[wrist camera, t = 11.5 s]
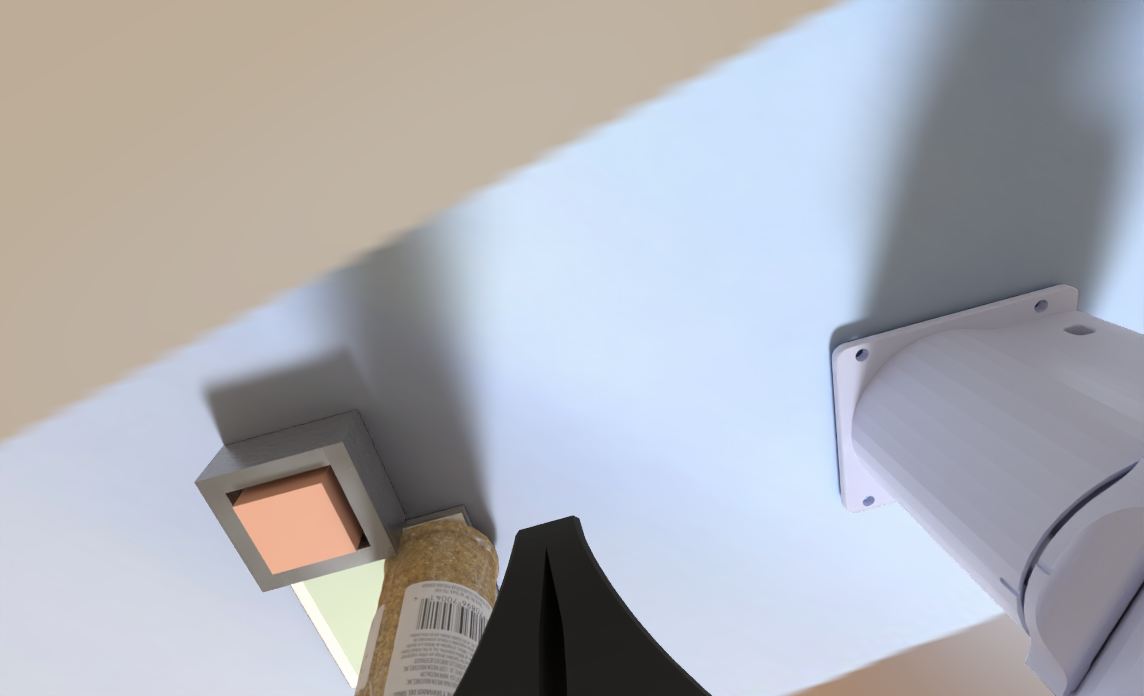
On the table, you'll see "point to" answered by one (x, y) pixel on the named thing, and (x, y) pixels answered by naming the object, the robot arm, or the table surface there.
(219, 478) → the button housing
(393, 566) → the sprinkles bottle
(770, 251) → the table surface
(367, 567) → the picture board
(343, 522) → the button
